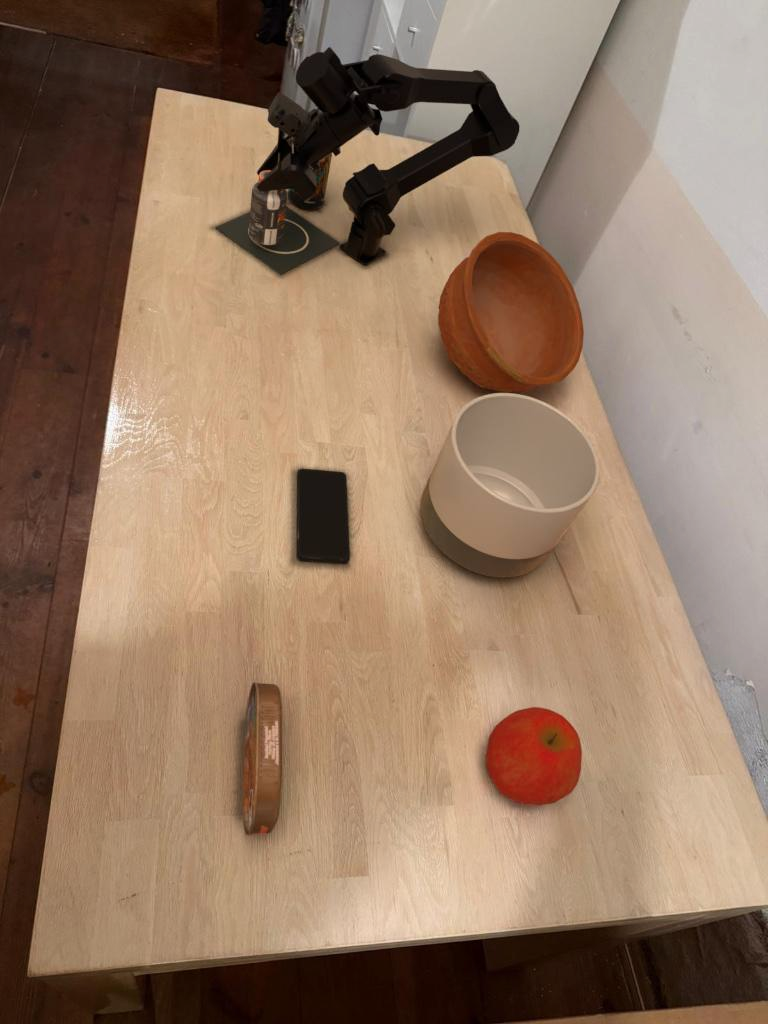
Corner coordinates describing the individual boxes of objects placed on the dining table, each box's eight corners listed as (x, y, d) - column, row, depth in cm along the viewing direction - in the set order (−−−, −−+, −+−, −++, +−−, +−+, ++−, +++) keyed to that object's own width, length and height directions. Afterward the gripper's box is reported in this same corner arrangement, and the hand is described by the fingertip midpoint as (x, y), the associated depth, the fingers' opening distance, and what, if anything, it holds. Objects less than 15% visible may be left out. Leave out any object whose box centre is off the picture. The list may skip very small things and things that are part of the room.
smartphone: (296, 558, 94) (297, 467, 103) (296, 561, 95) (296, 471, 104) (350, 561, 96) (346, 471, 105) (349, 564, 96) (345, 475, 105)
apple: (576, 799, 85) (619, 770, 76) (498, 826, 81) (535, 798, 73) (538, 715, 90) (574, 679, 82) (463, 736, 86) (493, 701, 78)
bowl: (385, 350, 117) (444, 313, 104) (440, 243, 127) (499, 197, 115) (494, 440, 126) (560, 416, 114) (537, 334, 137) (601, 301, 124)
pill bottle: (281, 248, 130) (288, 188, 121) (247, 243, 129) (251, 182, 120) (283, 229, 134) (289, 169, 125) (249, 223, 132) (254, 163, 124)
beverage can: (316, 216, 142) (326, 156, 133) (282, 203, 142) (289, 142, 133) (328, 199, 147) (338, 139, 137) (294, 186, 147) (303, 126, 137)
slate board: (276, 201, 142) (276, 199, 142) (339, 244, 138) (339, 242, 138) (215, 228, 133) (215, 226, 133) (281, 275, 129) (281, 273, 129)
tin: (245, 700, 83) (251, 668, 76) (274, 700, 84) (282, 669, 77) (241, 844, 74) (247, 822, 67) (273, 843, 75) (282, 821, 68)
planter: (438, 597, 97) (482, 518, 83) (398, 481, 107) (431, 394, 93) (565, 580, 103) (626, 504, 89) (516, 472, 113) (564, 389, 100)
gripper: (301, 54, 117) (226, 113, 123) (304, 113, 106) (222, 174, 112) (342, 113, 124) (270, 166, 131) (349, 174, 114) (270, 228, 120)
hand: (258, 181), depth 123 cm, fingers closed on pill bottle, 4 cm apart
